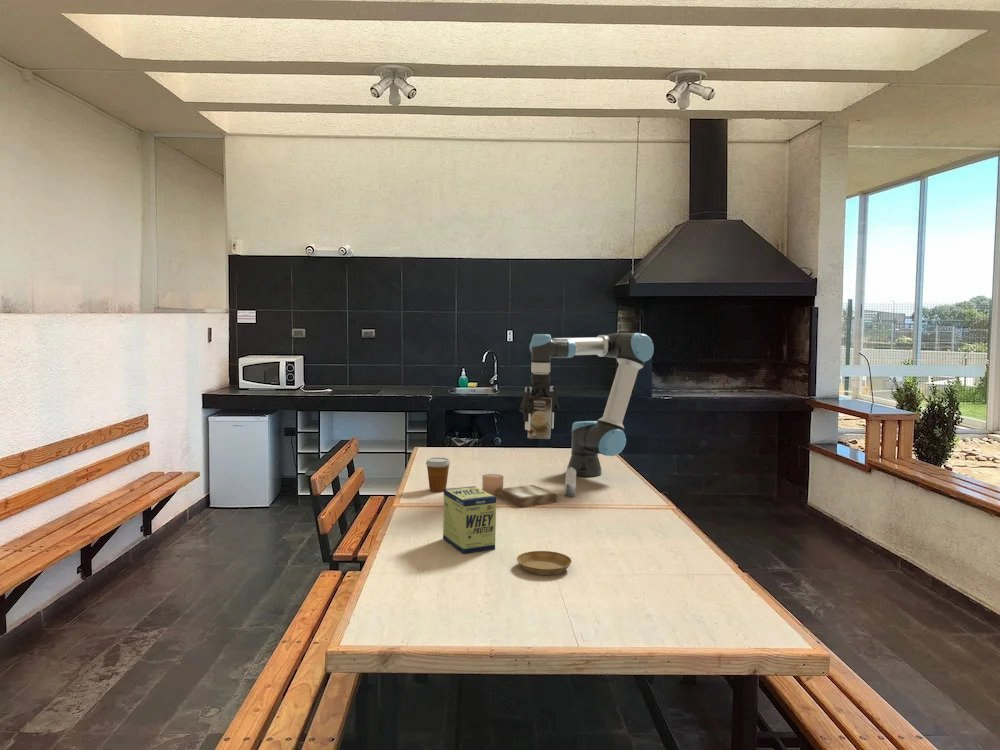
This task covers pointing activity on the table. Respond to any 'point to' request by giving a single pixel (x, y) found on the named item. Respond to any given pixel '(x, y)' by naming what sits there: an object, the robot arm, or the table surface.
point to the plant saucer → (544, 562)
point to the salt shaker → (570, 482)
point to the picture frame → (526, 495)
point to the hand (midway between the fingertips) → (539, 428)
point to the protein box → (469, 519)
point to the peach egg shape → (492, 483)
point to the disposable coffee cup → (437, 473)
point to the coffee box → (540, 418)
